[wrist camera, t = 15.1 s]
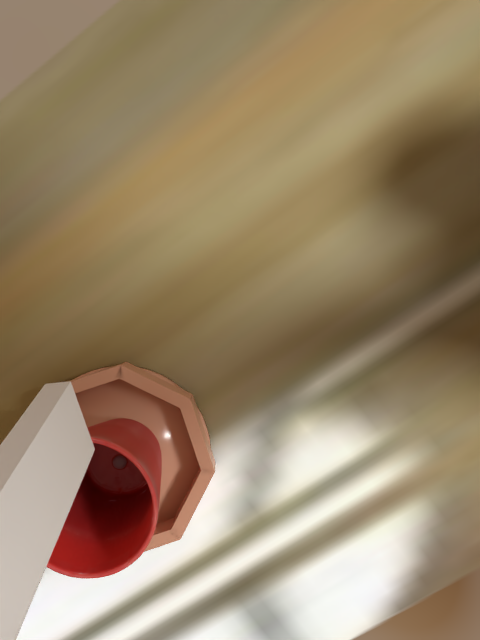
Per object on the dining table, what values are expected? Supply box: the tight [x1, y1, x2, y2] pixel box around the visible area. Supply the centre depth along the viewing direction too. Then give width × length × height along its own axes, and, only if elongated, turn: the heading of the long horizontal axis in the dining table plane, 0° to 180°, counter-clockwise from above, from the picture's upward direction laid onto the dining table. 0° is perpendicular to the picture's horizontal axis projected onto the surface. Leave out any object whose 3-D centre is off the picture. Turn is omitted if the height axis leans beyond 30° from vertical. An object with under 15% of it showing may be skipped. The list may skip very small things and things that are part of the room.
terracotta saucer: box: [67, 362, 215, 552], centre depth 36 cm, size 18×18×3 cm
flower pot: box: [46, 418, 162, 578], centre depth 32 cm, size 11×11×10 cm
